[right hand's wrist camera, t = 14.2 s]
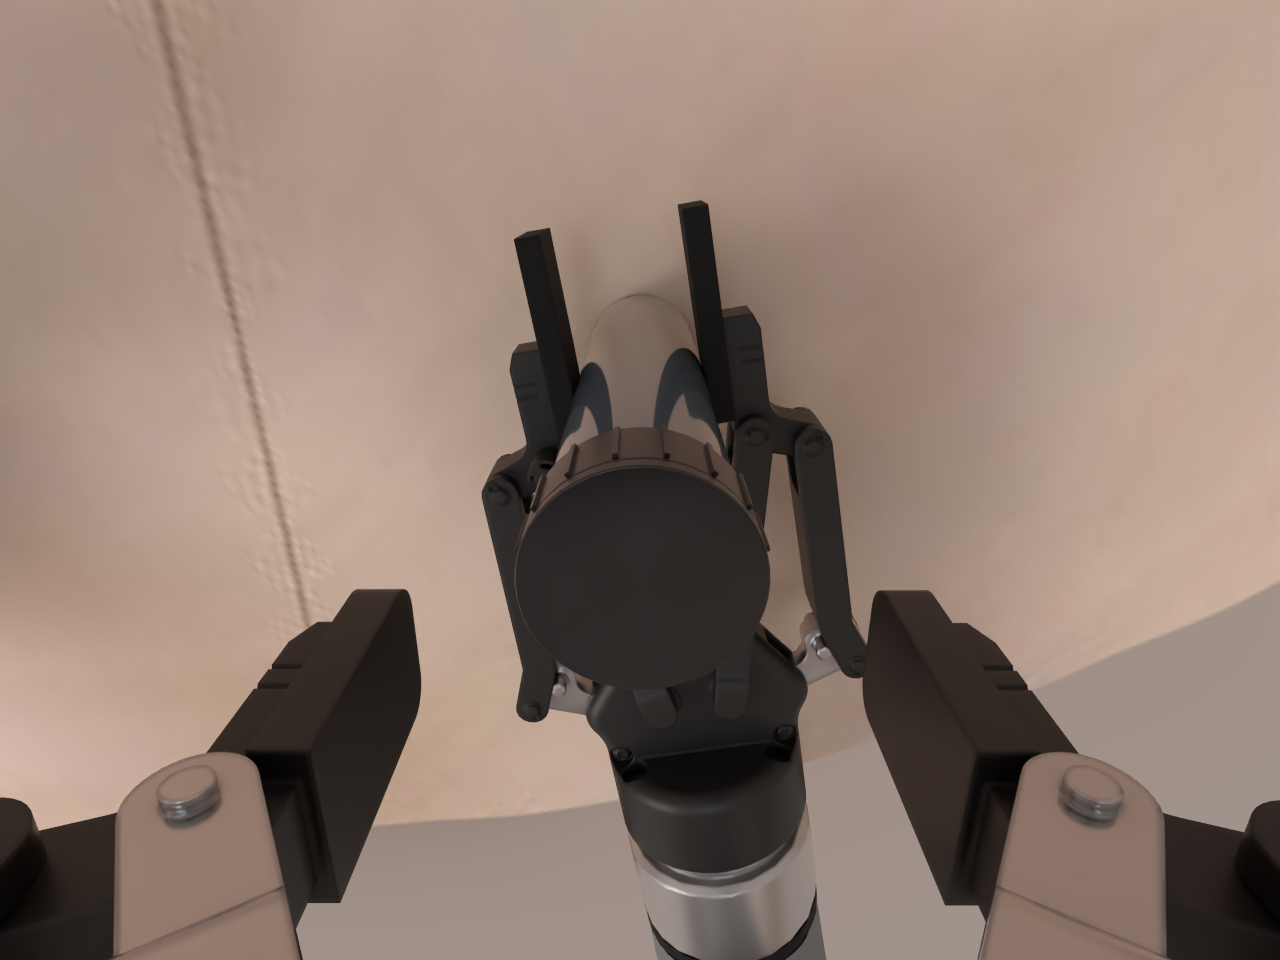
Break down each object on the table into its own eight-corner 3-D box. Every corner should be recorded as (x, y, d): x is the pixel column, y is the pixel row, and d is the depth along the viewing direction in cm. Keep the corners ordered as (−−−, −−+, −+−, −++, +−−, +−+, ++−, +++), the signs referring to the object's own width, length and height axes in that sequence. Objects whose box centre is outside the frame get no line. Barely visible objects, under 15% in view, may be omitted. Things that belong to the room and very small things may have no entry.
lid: (585, 658, 17) (577, 724, 15) (487, 476, 15) (464, 522, 13) (787, 585, 16) (808, 643, 14) (707, 387, 14) (717, 421, 12)
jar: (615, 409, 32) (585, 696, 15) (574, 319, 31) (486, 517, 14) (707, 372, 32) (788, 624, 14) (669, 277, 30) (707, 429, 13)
